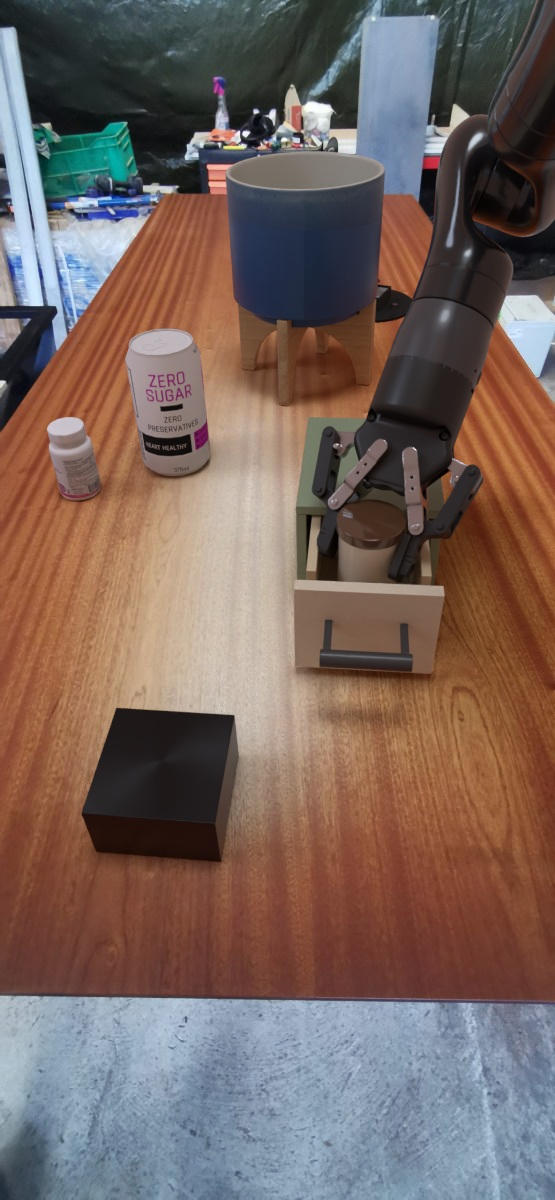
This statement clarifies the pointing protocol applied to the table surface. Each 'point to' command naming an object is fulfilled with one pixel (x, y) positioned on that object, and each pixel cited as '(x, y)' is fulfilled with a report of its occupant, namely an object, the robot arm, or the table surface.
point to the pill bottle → (73, 459)
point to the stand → (163, 784)
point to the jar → (368, 540)
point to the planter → (306, 254)
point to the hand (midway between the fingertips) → (359, 567)
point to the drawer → (365, 617)
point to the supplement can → (168, 401)
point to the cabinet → (314, 506)
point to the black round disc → (390, 304)
